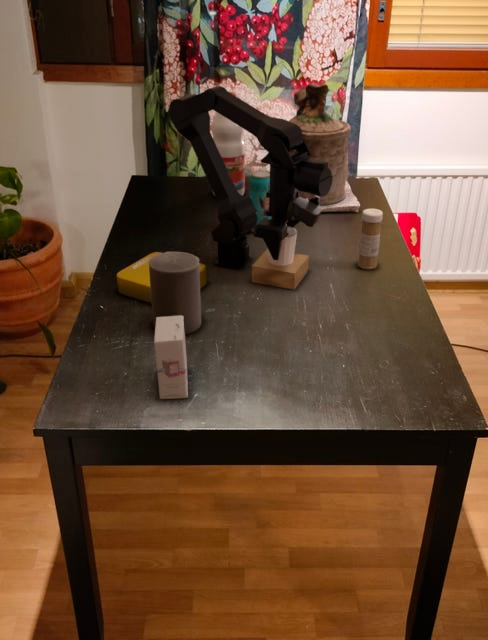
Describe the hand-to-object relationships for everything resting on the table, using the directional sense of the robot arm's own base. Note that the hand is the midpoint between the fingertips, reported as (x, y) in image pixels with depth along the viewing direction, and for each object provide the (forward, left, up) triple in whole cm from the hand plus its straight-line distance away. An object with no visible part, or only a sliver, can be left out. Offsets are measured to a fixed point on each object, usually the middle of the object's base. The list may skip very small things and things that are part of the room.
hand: (280, 254), depth 159 cm
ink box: (-3, -48, -6) cm, 48 cm away
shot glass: (0, 0, -2) cm, 2 cm away
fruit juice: (-32, +45, -6) cm, 56 cm away
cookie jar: (-8, +51, -6) cm, 52 cm away
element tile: (-22, -15, -6) cm, 27 cm away
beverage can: (-14, +23, -6) cm, 28 cm away
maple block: (0, 0, -6) cm, 6 cm away
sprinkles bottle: (+17, +13, -6) cm, 22 cm away
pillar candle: (-12, -28, -6) cm, 31 cm away
